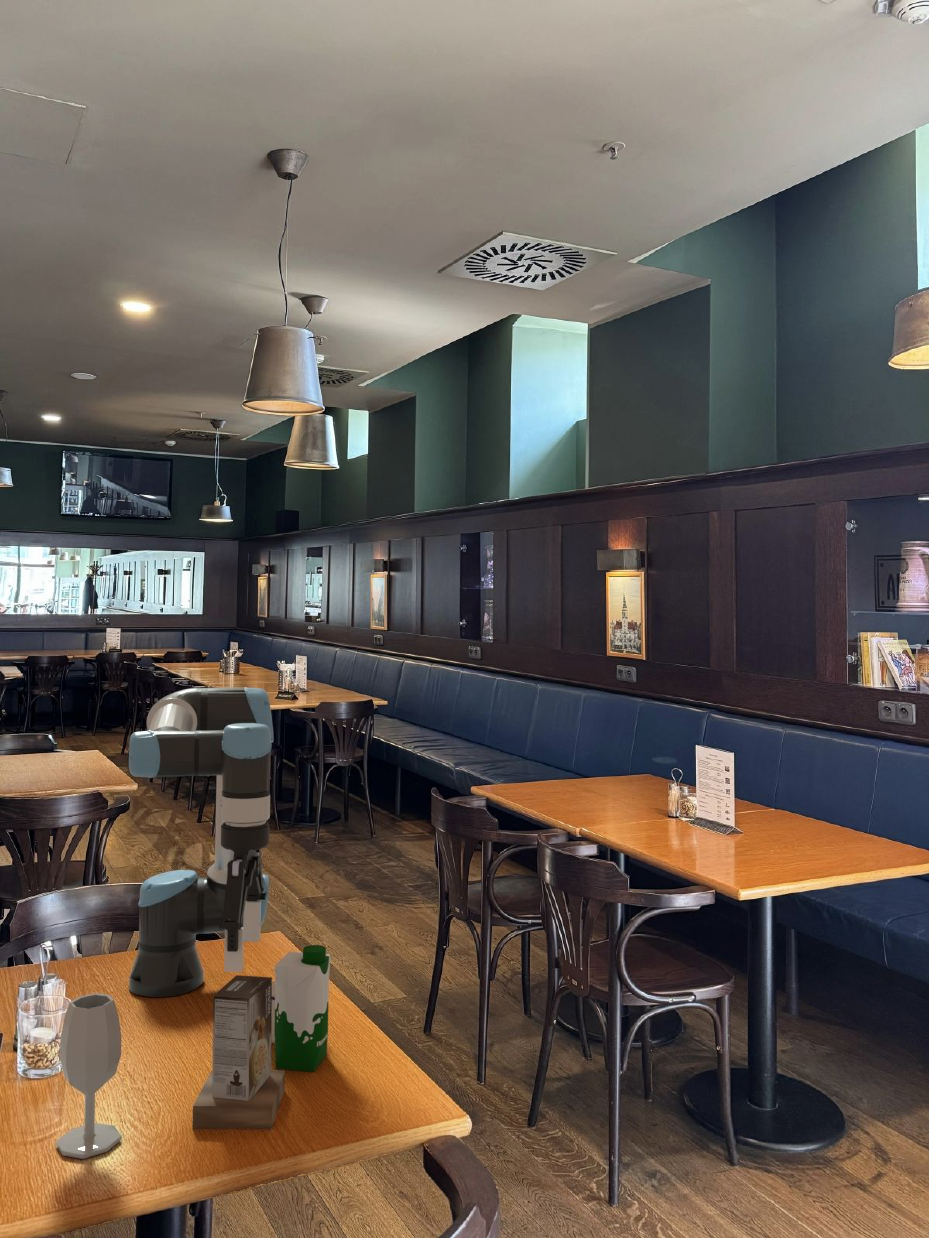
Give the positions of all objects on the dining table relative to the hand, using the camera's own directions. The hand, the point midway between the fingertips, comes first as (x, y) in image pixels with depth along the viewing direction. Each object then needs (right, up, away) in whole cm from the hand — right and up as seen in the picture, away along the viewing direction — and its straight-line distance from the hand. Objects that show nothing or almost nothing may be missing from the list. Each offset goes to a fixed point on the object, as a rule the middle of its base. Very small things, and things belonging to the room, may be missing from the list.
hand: (243, 955), depth 152 cm
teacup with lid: (+2, -25, +29) cm, 38 cm away
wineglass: (-20, -24, -11) cm, 33 cm away
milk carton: (+6, -25, +17) cm, 31 cm away
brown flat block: (0, -25, 0) cm, 25 cm away
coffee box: (0, -21, 0) cm, 21 cm away
